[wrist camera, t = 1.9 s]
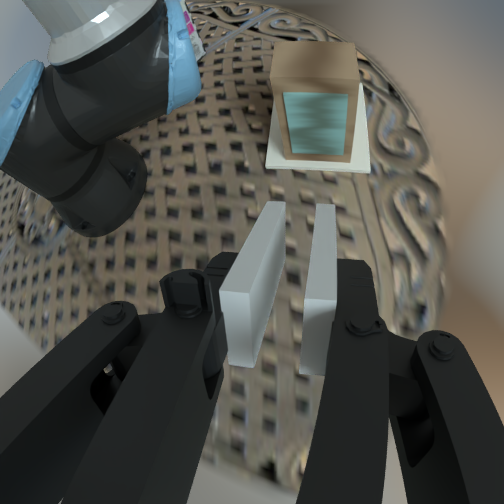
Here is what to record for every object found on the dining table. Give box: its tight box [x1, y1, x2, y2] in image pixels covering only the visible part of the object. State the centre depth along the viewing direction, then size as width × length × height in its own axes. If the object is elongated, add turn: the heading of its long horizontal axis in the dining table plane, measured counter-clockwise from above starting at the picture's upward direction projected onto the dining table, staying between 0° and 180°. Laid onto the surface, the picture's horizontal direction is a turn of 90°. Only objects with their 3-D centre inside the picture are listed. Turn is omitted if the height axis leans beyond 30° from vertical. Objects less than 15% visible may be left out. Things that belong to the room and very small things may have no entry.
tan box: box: [270, 41, 360, 163], centre depth 32 cm, size 8×6×14 cm
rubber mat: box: [265, 83, 370, 173], centre depth 40 cm, size 13×16×1 cm
